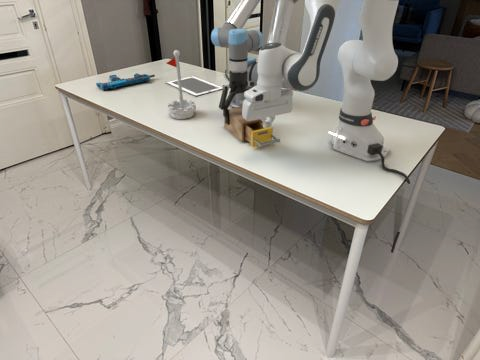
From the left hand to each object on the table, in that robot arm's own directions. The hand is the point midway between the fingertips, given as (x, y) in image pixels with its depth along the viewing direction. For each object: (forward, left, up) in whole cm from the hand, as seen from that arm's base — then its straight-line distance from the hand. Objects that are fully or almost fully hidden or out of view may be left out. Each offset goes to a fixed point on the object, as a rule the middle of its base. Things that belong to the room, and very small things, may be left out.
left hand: (238, 121), depth 150 cm
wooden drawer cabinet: (+4, +2, -3) cm, 6 cm away
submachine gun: (-67, -72, -3) cm, 98 cm away
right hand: (+21, +11, +7) cm, 25 cm away
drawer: (+14, +8, -2) cm, 16 cm away
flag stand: (-15, -28, -3) cm, 32 cm away
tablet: (-60, -28, -3) cm, 67 cm away
